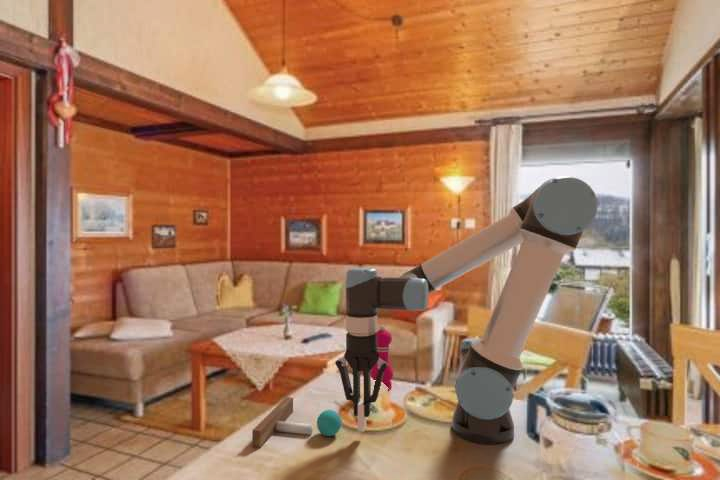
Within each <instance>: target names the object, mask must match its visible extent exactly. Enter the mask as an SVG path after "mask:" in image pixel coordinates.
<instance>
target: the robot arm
mask: <svg viewBox="0 0 720 480" xmlns="http://www.w3.org/2000/svg"><path fill="white" fill-rule="evenodd" d="M598 204H599V203H598V198H597V195H596V193H595V191H594V190H593V188H592V187H591V186H590V184H588V183H587V182H585V181H583V180H582V179H580V178H577V177H573V176H556V177H553V178H549V179H548V180H546V181H545V182H543V183H542V184H541V185H540V186H539V187H537V189H535V190H534V191H533V193H531V194H530V195H528V197H526V198H525V199H523V200H522V201H521V202H519V203H517V204H516V205H514V206H513V207H511V208H510V211H509V213H508V214H507V215H505V216H503V217H502V218H500V219H498V220H496V221H495V222H493V223H491V224H489V225H488V226H486V227H484V228H482V229H481V230H478V231H477V232H475V233H473V234H472V235H470V236H468V237H466V238H465V239H463V240H461V241H460V242H457V243H456V244H454V245H453V246H450V247H449V248H447V249H445V250H444V251H442V252H440V253H438V254H437V255H435V256H433V257H432V258H430V259H428V260H426V261H424V262H422V263H421V264H420V265H417V266H416V267H414V268H412V269H410V270H408V271H406V272H404V273H403V274H401V275H400V276H399V277H396V276H395V277H393V276H391V277H389V276H387V277H385V276H379V274H378V270H377V269H376V268H374V267H351V268H349V269H348V270H347V272H346V277H345V278H346V279H345V288H344V289H345V309H346V310H345V326H346V327H345V330H346V332H347V333H346V334H345V345H346V347H345V352H344V354H343V355H344V356H342V357H339V358H337V360H335V365H336V368H337V369H338V371H339V374H340V379H341V383H342V386H343V391H344V395H345V399H346V400H347V401H351V402H352V403H353V416H354V417H357V432H362V433H363V432H365V430H366V429H367V418H369V416H370V415H371V404H372V403H376V401H377V400H378V397H379V395H380V391H379V390H380V386H381V382H382V378H383V374H384V371H385V369H386V368H387V366H388V364H389V363H388V361H383V360H382V359H381V358H379V357H380V356H379V353H378V351H377V334H376V331H378V309H379V310H397V311H398V310H399V311H409V312H416V311H425V310H426V309H427V308H428V304H429V297H430V294H431V293H432V292H434V291H436V290H438V289H439V288H441V287H444V286H445V285H447V284H449V283H451V282H452V281H454V280H456V279H458V278H459V277H462V276H463V275H465V274H467V273H468V272H470V271H472V270H475V269H476V268H478V267H481V266H482V265H483V264H486V263H487V262H490V261H491V260H493V259H495V258H496V257H498V256H500V255H502V254H504V253H505V252H508V251H510V250H511V249H513V248H515V247H517V246H519V245H521V246H520V247H519V250H518V252H517V254H516V256H515V260H514V261H513V264H512V266H511V268H510V271H509V273H508V275H507V278H506V281H505V282H504V285H503V288H502V290H501V292H500V295H499V296H498V299H497V301H496V303H495V306H494V308H493V311H492V312H491V315H490V317H489V320H488V323H487V325H486V327H485V329H484V332H483V334H482V337H481V338H479V337H474V338H473V337H471V338H464V339H462V340H461V341H460V348H459V351H460V353H459V359H460V360H459V367H458V372H457V378H456V380H455V386H454V389H455V395H456V399H457V403H456V405H455V409H454V411H453V415H452V419H451V428H452V431H454V433H455V434H456V435H458V436H459V437H461V438H463V439H465V440H466V441H467V440H468V441H470V442H473V443H478V444H482V445H484V444H486V445H497V444H498V445H499V444H504V443H507V442H509V441H511V440H512V439H513V438H514V437H515V424H514V423H515V422H514V420H513V418H512V414H511V411H510V408H511V406H512V404H513V400H514V399H513V398H514V388H515V386H516V383H517V382H518V380H519V378H520V375H521V373H522V370H523V367H524V366H523V365H524V364H523V363H522V361H521V358H520V356H521V353H522V351H523V348H524V347H525V345H526V342H527V339H528V338H529V336H530V333H531V331H532V328H533V327H534V324H535V323H536V322H535V321H536V319H537V317H538V315H539V313H540V310H541V309H542V306H543V304H544V301H545V299H546V297H547V295H548V292H549V290H550V288H551V286H552V283H553V281H554V279H555V277H556V274H557V271H558V270H559V268H560V266H561V263H562V261H563V258H564V256H565V255H567V254H568V253H571V252H573V251H576V249H577V248H578V247H577V246H578V245H579V242H580V240H581V237H582V236H583V233H584V231H585V230H586V229H588V227H590V226H591V224H592V223H593V221H594V220H595V219H596V216H597V212H598V206H599V205H598ZM376 363H378V366H377V367H378V369H379V371H378V373H377V377H376V381H375V385H374V389H373V388H372V381H371V380H372V377H371V369H372V368H373V366H374V365H375V364H376ZM347 364H348V365H349V366H350V368H351V369H352V384H351V379H350V376H349V371H348V367H347ZM361 372H362V376H363V399H361V397H362V396H361ZM371 388H372V390H371ZM371 393H372V394H371Z"/></svg>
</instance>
